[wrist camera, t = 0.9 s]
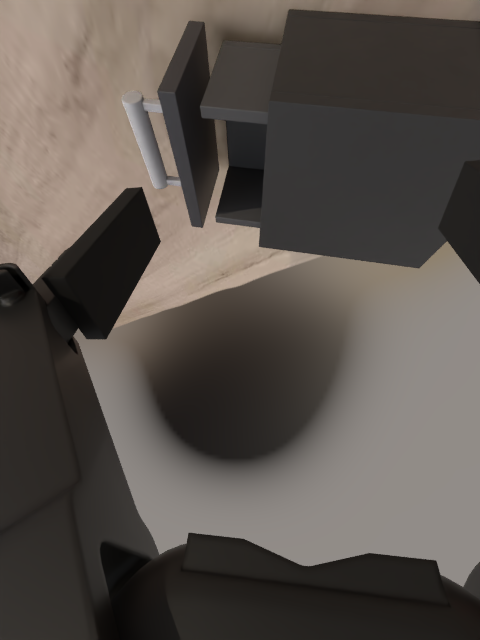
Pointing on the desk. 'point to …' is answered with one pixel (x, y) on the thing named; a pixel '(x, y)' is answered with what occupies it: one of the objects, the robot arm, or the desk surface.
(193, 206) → the drawer
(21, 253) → the desk surface
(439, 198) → the small drawer cabinet
